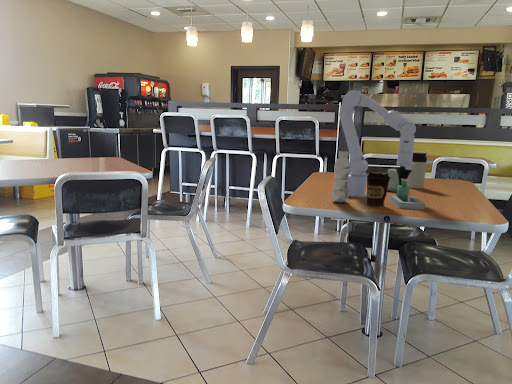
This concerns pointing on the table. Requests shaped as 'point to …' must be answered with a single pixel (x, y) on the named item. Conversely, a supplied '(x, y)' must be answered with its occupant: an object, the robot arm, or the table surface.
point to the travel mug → (417, 170)
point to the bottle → (403, 190)
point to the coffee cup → (377, 188)
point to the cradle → (408, 203)
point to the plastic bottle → (341, 177)
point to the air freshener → (393, 180)
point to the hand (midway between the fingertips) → (402, 185)
